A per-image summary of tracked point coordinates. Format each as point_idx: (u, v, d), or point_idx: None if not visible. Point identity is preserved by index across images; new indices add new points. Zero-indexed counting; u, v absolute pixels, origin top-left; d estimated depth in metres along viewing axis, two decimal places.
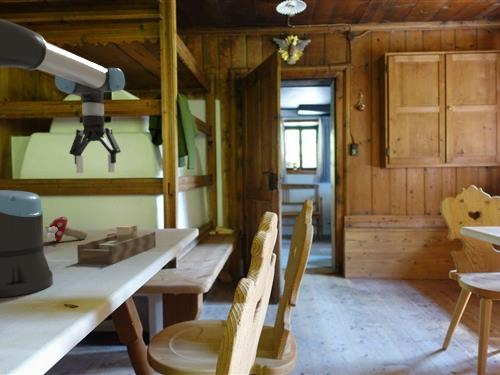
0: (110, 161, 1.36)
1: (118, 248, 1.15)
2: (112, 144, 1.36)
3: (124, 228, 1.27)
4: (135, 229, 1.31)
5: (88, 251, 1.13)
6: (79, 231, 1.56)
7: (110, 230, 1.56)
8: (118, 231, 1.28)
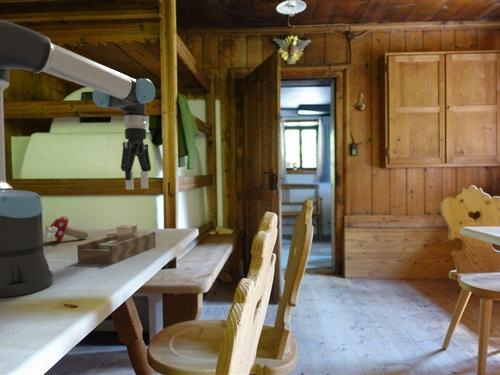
0: (126, 178, 1.32)
1: (118, 248, 1.15)
2: None
3: (124, 228, 1.27)
4: (135, 229, 1.31)
5: (88, 251, 1.13)
6: (80, 231, 1.56)
7: (110, 230, 1.56)
8: (118, 231, 1.28)
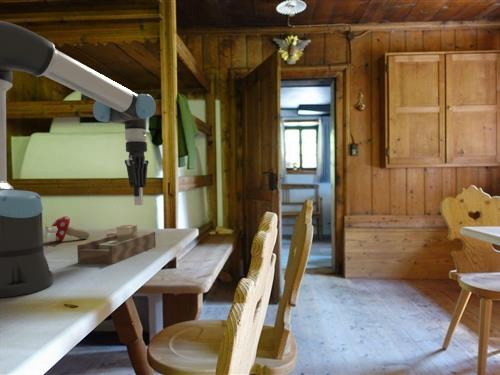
0: None
1: (118, 248, 1.15)
2: None
3: (124, 228, 1.27)
4: (135, 229, 1.31)
5: (88, 251, 1.13)
6: (81, 231, 1.56)
7: (110, 230, 1.56)
8: (118, 231, 1.28)
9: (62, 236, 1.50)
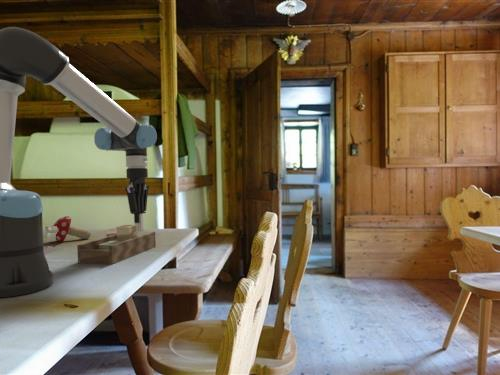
0: None
1: (118, 248, 1.15)
2: None
3: (124, 228, 1.27)
4: (135, 229, 1.31)
5: (88, 251, 1.13)
6: (83, 231, 1.57)
7: (110, 230, 1.56)
8: (118, 231, 1.28)
9: (63, 236, 1.50)
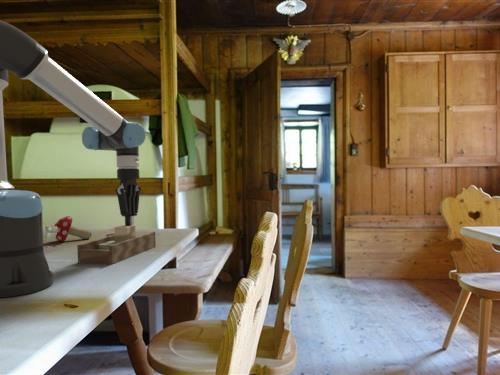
0: None
1: (118, 248, 1.15)
2: None
3: (122, 228, 1.26)
4: (133, 229, 1.29)
5: (88, 251, 1.13)
6: (84, 231, 1.57)
7: (110, 230, 1.56)
8: (116, 231, 1.27)
9: (65, 236, 1.50)
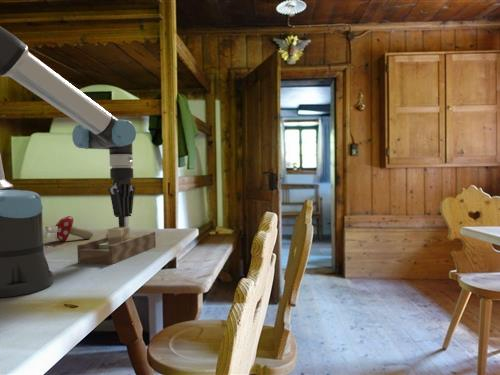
0: None
1: (118, 248, 1.15)
2: None
3: (115, 230, 1.22)
4: (127, 231, 1.26)
5: (88, 251, 1.13)
6: (85, 231, 1.57)
7: None
8: (109, 233, 1.23)
9: (66, 236, 1.51)
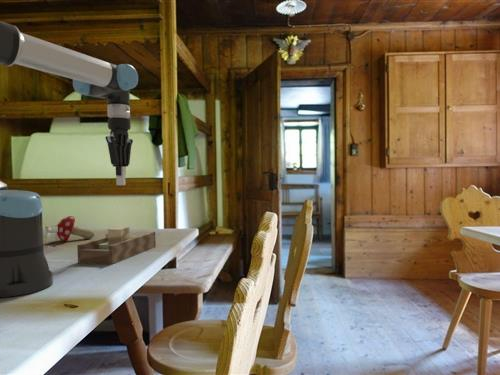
0: None
1: (118, 248, 1.15)
2: None
3: (115, 230, 1.22)
4: (127, 231, 1.26)
5: (88, 251, 1.13)
6: (86, 230, 1.57)
7: None
8: (109, 233, 1.23)
9: (67, 236, 1.51)
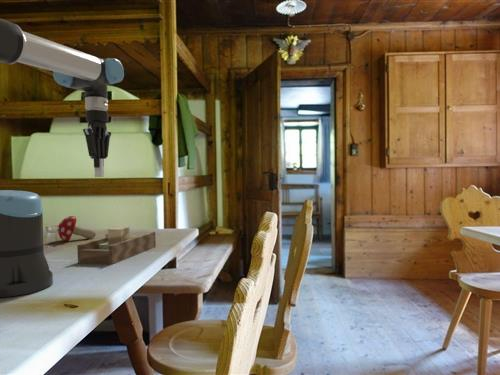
0: None
1: (118, 248, 1.15)
2: None
3: (115, 230, 1.22)
4: (127, 231, 1.26)
5: (88, 251, 1.13)
6: (88, 230, 1.58)
7: None
8: (109, 233, 1.23)
9: (69, 235, 1.51)
